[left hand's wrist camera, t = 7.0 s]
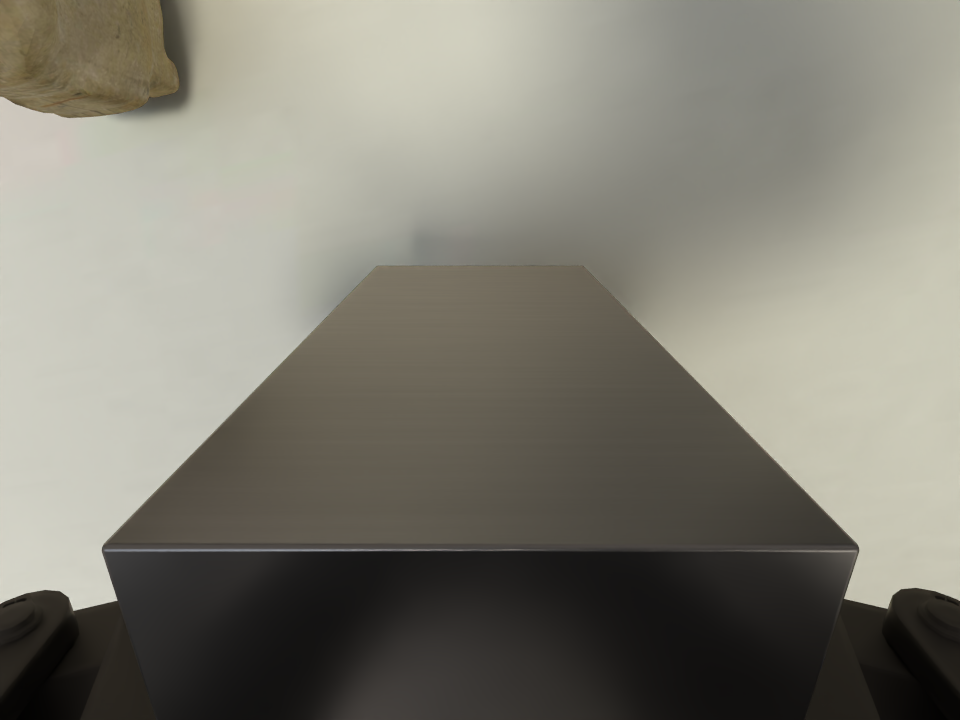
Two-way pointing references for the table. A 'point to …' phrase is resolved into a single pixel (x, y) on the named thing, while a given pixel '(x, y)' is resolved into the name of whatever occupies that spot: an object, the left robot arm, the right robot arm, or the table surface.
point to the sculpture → (83, 55)
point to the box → (480, 526)
